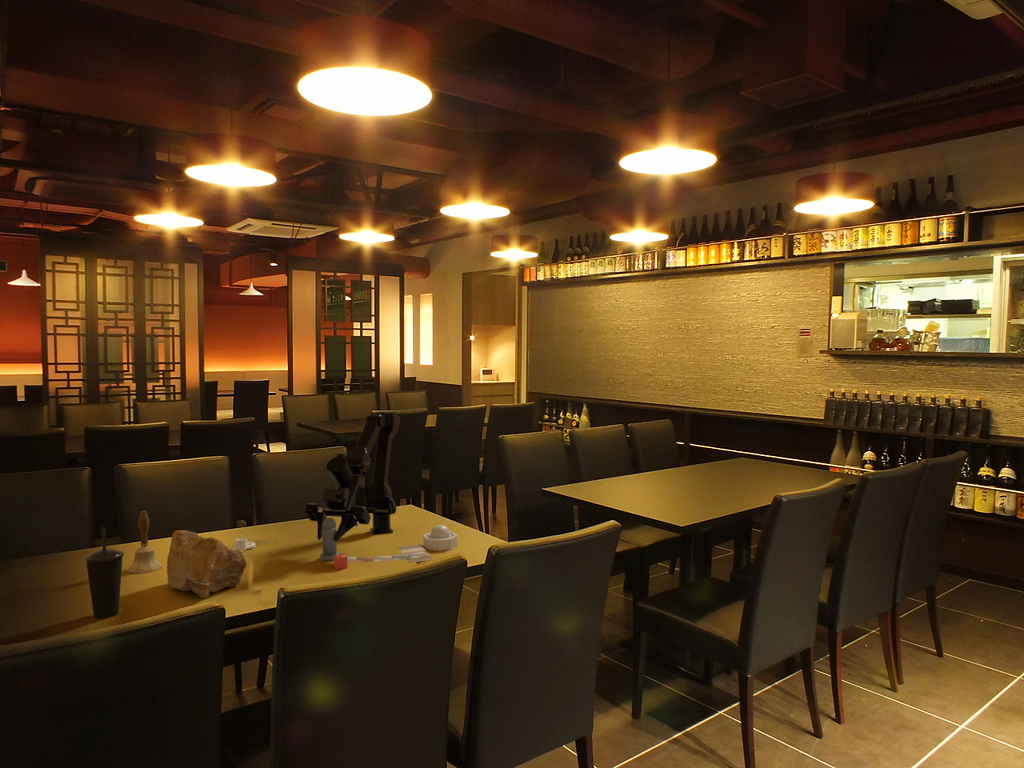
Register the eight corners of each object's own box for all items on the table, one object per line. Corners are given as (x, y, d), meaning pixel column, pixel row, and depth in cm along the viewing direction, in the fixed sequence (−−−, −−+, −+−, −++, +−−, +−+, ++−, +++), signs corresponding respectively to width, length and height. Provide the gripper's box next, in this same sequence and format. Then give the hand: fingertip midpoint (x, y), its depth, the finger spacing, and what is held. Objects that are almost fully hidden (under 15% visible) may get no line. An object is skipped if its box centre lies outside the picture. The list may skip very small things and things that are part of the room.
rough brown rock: (261, 595, 171) (264, 535, 172) (190, 606, 160) (194, 542, 161) (225, 576, 188) (228, 521, 189) (160, 585, 177) (163, 526, 178)
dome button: (426, 542, 213) (425, 523, 213) (448, 540, 216) (448, 521, 215) (431, 549, 206) (431, 529, 206) (455, 546, 209) (454, 527, 209)
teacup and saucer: (251, 546, 212) (251, 533, 212) (263, 552, 207) (262, 538, 207) (222, 552, 206) (222, 539, 206) (233, 558, 201) (233, 544, 200)
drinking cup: (113, 621, 153) (110, 531, 152) (78, 621, 153) (75, 531, 152) (132, 608, 161) (130, 522, 160) (100, 608, 161) (97, 522, 160)
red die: (333, 566, 188) (333, 554, 188) (345, 565, 189) (345, 553, 189) (335, 569, 185) (334, 557, 185) (347, 568, 186) (347, 556, 186)
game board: (316, 558, 199) (316, 554, 199) (420, 547, 209) (420, 543, 209) (321, 575, 184) (321, 571, 184) (433, 563, 194) (433, 559, 194)
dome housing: (421, 543, 214) (421, 533, 214) (451, 540, 217) (451, 530, 217) (428, 551, 205) (428, 541, 205) (459, 548, 208) (459, 538, 208)
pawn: (319, 556, 196) (318, 516, 196) (338, 554, 198) (337, 515, 198) (321, 562, 192) (320, 521, 191) (340, 559, 193) (339, 519, 193)
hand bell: (168, 565, 193) (167, 508, 192) (144, 575, 185) (142, 515, 184) (145, 562, 195) (143, 506, 195) (120, 571, 188) (118, 513, 187)
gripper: (305, 475, 200) (285, 522, 190) (365, 478, 195) (347, 526, 185) (320, 496, 208) (301, 543, 198) (378, 500, 203) (361, 547, 193)
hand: (327, 540), depth 193 cm, fingers open, 5 cm apart
